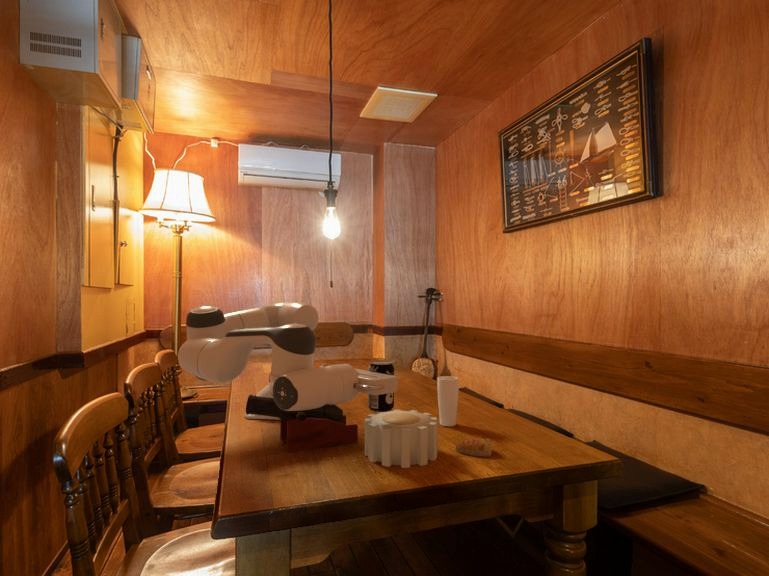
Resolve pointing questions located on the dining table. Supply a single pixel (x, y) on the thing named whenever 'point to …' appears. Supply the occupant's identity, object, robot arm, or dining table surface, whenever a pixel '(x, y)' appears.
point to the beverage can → (385, 400)
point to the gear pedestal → (401, 438)
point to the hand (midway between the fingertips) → (383, 375)
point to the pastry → (475, 447)
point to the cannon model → (306, 425)
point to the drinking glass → (447, 399)
